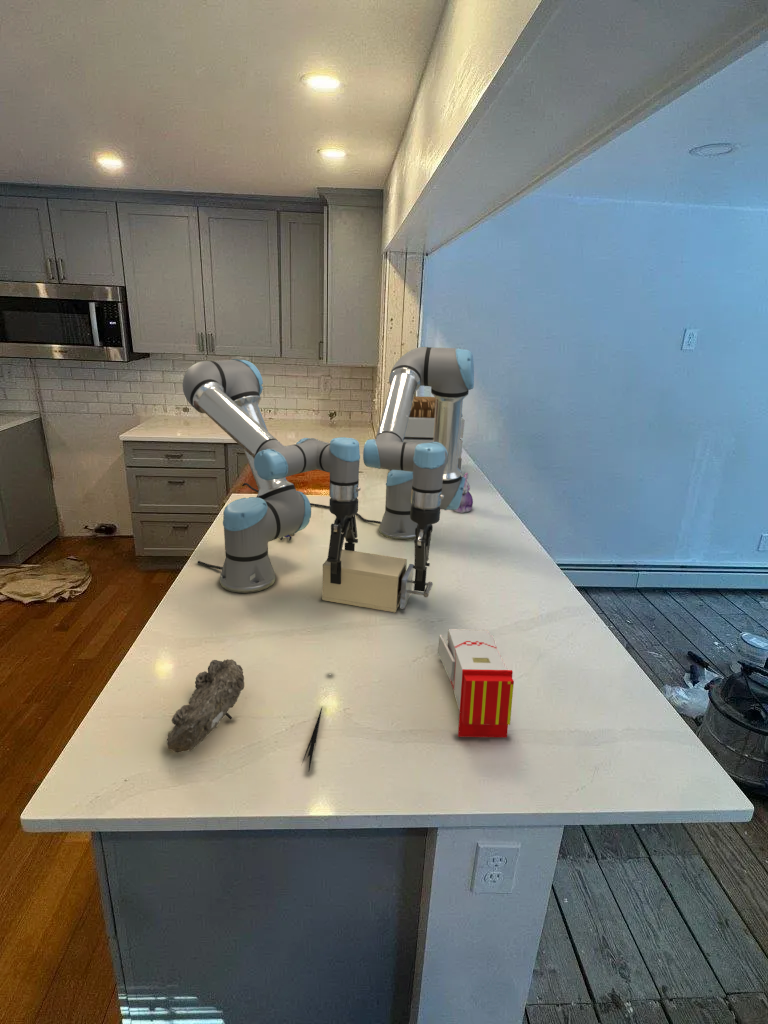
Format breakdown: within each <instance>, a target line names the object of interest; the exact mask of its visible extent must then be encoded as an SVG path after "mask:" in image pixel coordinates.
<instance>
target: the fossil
mask: <svg viewBox="0 0 768 1024" xmlns="http://www.w3.org/2000/svg"><path fill="white" fill-rule="evenodd" d="M243 670H244V669H243V667H242V665H240V664H237V662H236V661H235V660H234V659H232V658H231V659H227V658H226V659H224V660H223V661H222V660H217V659H212V660H211V661H210V663H209V665H208V666H207V671H201V672H199V673H198V674H197V675H196V676H195V680H194V684H195V685H194V687H195V689H194V690H193V693H192V694H191V697H190V698H189V700H188V704H184V705H182V706H181V707H180V709H177V710H176V711H175V713H174V715H173V716H172V718H171V723H172V724H173V727H172V730H171V731H170V732H168V734H167V738H166V741H167V742H166V745H167V749H168V750H169V751H173V752H174V753H176V754H178V753H182V752H188V751H189V752H192V751H193V750H195V748H196V747H197V746H199V744H200V743H201V742H203V741H204V740H205V739H206V738H207V737H208V736H209V735H210V734H211V733H212V732H214V730H215V729H217V727H218V726H219V724H220V722H221V721H222V720H223V719H224V718H225V716H226V717H227V719H229V720H233V717H232V715H230V714H229V710H230V709H231V708H234V706H235V704H236V703H237V702H238V699H239V697H240V695H241V693H242V691H243V690H245V689H244V688H245V675H244V671H243Z"/></svg>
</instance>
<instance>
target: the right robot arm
mask: <svg viewBox="0 0 768 1024" xmlns="http://www.w3.org/2000/svg"><path fill="white" fill-rule="evenodd" d="M474 363H475V362H474V356H473V352H472V351H470V350H469V349H465V348H464V349H462V348H458V347H434V346H433V347H431V346H430V347H428V346H419V347H416V348H412V349H411V350H410V351H407V352H406V353H404V354H403V355H402V356H401V357H399V359H398V360H397V361H396V362H395V363H394V365H393V367H392V368H391V371H390V373H389V377H388V382H389V385H390V386H389V389H388V392H387V397H386V400H385V404H384V407H383V411H382V413H381V414H382V415H381V417H380V421H379V424H378V429H377V432H376V436H375V438H373V439H367V440H366V441H365V443H364V445H363V452H362V460H363V464H364V465H365V466H366V467H367V468H370V469H371V468H372V469H378V470H389V472H388V473H387V475H386V482H385V504H384V505H385V507H384V508H385V509H384V513H383V515H382V519H381V521H380V520H372V519H367V518H364V517H363V516H362V515H360V514H359V513H358V512H357V513H356V514H355V516H357V517H358V518H359V519H360V520H361V521H363V522H366V523H372V524H379V526H378V533H379V534H380V535H381V536H382V537H385V538H387V539H389V540H395V541H410V540H413V542H414V562H413V563H414V565H413V568H414V569H413V570H415V571H414V581H415V583H413V584H414V585H413V586H414V587H413V589H414V590H413V591H417V592H424V591H425V589H426V585H425V584H426V583H427V570H428V569H427V567H430V566H431V563H430V562H428V561H429V556H430V547H431V540H432V533H433V529H434V526H433V525H435V524H438V523H439V522H440V520H441V519H440V518H441V510H444V511H454V510H456V509H458V508H459V505H460V502H461V498H462V493H463V489H464V484H465V478H464V477H463V476H462V470H461V471H460V469H459V468H458V455H459V442H460V439H461V438H460V430H461V418H463V403H464V399H465V398H467V396H469V392H470V391H471V390H473V389H474V388H475V387H474V386H475V364H474ZM420 387H430V394H431V395H432V397H435V398H436V399H435V417H434V434H433V442H430V443H422V444H419V443H407V442H403V441H404V436H405V432H406V428H407V424H408V420H409V416H410V411H411V407H412V403H413V399H414V396H415V394H416V392H417V391H418V390H420ZM390 469H391V471H390ZM461 476H462V477H461ZM241 486H242V487H244V486H246V487H248V488H249V489H250V490H252V491H254V492H256V493H258V492H259V489H256V488H255V487H253V486H252V485H250V484H249V483H247V482H244V483H242V485H241ZM310 505H311V507H317V508H318V507H319V508H324V509H329V506H330V505H324V504H320V503H313V502H310Z"/></svg>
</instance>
